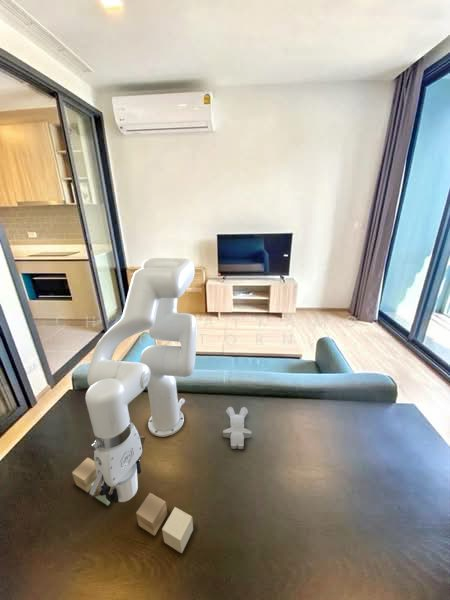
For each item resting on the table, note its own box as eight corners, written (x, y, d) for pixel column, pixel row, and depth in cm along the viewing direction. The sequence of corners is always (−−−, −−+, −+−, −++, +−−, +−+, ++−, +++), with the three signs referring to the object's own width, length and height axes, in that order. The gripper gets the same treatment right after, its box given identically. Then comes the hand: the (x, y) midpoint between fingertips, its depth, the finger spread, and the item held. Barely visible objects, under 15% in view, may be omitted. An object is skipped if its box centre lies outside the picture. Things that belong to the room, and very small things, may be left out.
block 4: (176, 519, 63) (174, 506, 61) (193, 529, 61) (192, 516, 59) (163, 542, 58) (161, 529, 57) (181, 553, 56) (180, 540, 55)
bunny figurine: (222, 442, 78) (224, 402, 92) (222, 452, 81) (224, 412, 94) (252, 443, 78) (250, 403, 91) (251, 452, 80) (249, 412, 94)
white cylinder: (131, 507, 59) (126, 488, 57) (105, 501, 61) (100, 482, 58) (145, 479, 66) (142, 460, 63) (121, 473, 67) (117, 455, 65)
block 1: (91, 469, 75) (87, 457, 73) (102, 476, 73) (99, 464, 71) (75, 484, 71) (71, 472, 69) (87, 492, 69) (83, 480, 67)
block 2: (109, 480, 72) (106, 467, 70) (122, 487, 70) (119, 475, 68) (94, 497, 68) (91, 484, 66) (107, 505, 66) (104, 493, 64)
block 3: (152, 505, 66) (149, 492, 64) (167, 514, 64) (165, 501, 62) (138, 525, 61) (135, 512, 60) (154, 536, 59) (152, 523, 58)
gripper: (91, 472, 48) (107, 530, 54) (152, 409, 62) (159, 460, 68) (65, 457, 51) (83, 513, 57) (129, 400, 65) (138, 450, 71)
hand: (124, 484), depth 63 cm, fingers closed on white cylinder, 6 cm apart
